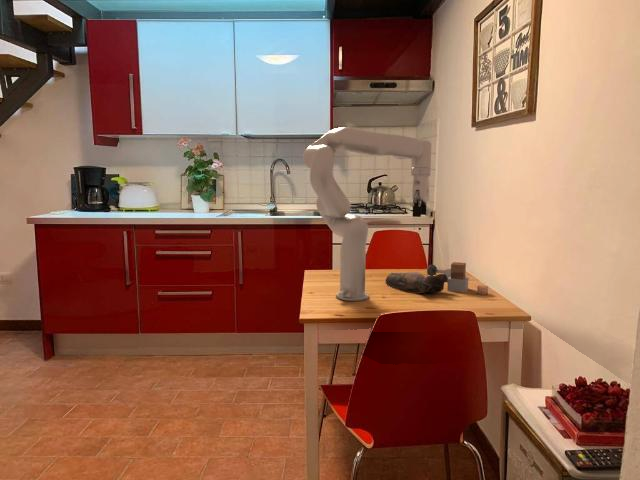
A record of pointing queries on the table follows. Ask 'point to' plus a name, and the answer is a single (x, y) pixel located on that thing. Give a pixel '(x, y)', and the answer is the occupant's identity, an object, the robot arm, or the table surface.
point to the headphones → (438, 271)
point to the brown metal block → (458, 270)
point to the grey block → (457, 284)
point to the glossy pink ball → (482, 290)
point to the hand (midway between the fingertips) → (419, 215)
